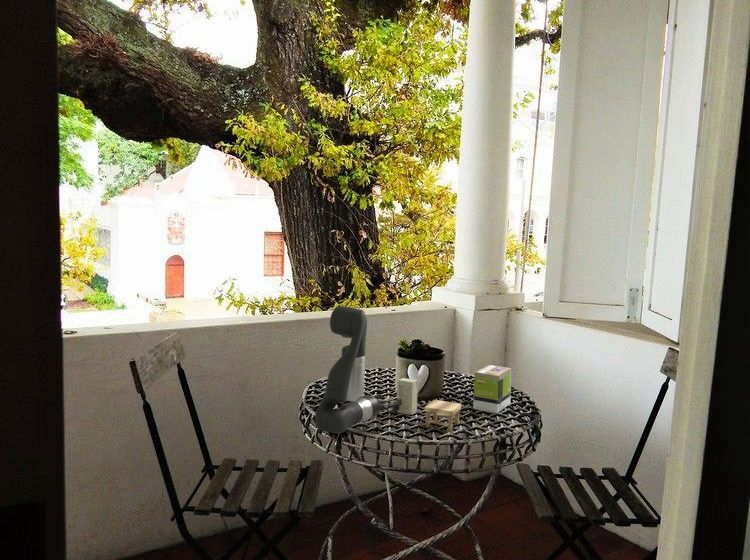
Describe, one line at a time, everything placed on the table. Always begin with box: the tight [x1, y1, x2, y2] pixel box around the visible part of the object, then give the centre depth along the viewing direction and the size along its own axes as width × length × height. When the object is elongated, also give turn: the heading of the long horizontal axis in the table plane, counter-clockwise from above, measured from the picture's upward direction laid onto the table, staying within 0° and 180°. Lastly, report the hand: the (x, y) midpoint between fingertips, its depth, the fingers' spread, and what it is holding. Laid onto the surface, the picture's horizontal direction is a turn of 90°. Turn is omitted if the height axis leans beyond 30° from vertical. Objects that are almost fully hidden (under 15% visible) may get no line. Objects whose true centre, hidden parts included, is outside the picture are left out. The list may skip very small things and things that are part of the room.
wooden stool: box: [424, 399, 462, 432], centre depth 223 cm, size 10×10×7 cm
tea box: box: [472, 364, 513, 414], centre depth 247 cm, size 15×10×15 cm, turn 149°
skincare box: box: [396, 377, 418, 416], centre depth 235 cm, size 6×4×12 cm
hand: (390, 399), depth 226 cm, fingers open, 8 cm apart
